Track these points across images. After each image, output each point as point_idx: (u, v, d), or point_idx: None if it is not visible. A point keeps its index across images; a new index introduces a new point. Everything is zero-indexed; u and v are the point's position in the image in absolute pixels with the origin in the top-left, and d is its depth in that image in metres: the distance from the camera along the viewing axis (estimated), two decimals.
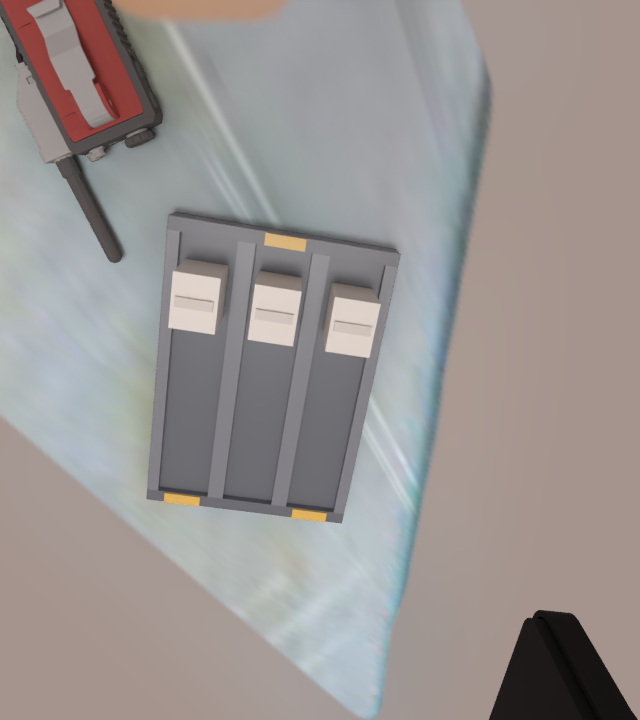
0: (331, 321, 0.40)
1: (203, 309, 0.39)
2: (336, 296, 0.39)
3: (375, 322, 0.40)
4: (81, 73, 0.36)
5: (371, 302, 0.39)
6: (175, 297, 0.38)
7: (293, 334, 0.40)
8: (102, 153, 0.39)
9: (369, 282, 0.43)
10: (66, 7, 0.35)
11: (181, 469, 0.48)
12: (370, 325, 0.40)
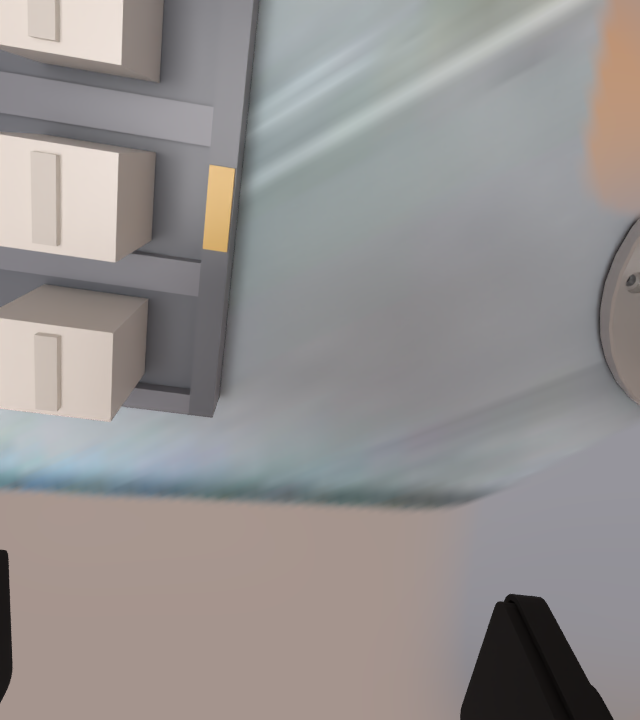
0: (57, 327, 0.18)
1: (32, 11, 0.15)
2: (114, 334, 0.19)
3: (70, 414, 0.19)
4: None
5: (111, 403, 0.19)
6: None
7: (10, 244, 0.17)
8: None
9: (156, 365, 0.24)
10: None
11: None
12: (61, 405, 0.19)
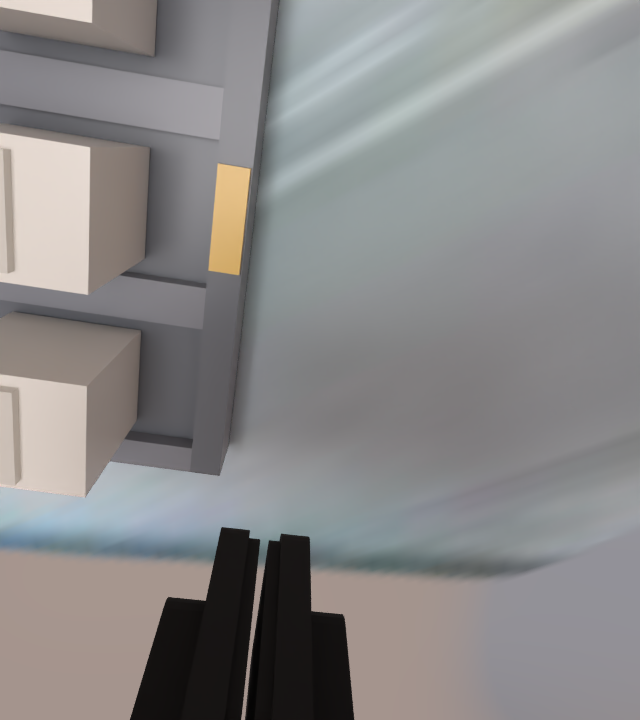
0: (13, 378, 0.14)
1: None
2: (89, 386, 0.14)
3: (33, 487, 0.15)
4: None
5: (86, 473, 0.15)
6: None
7: None
8: None
9: (150, 411, 0.19)
10: None
11: None
12: (22, 476, 0.15)
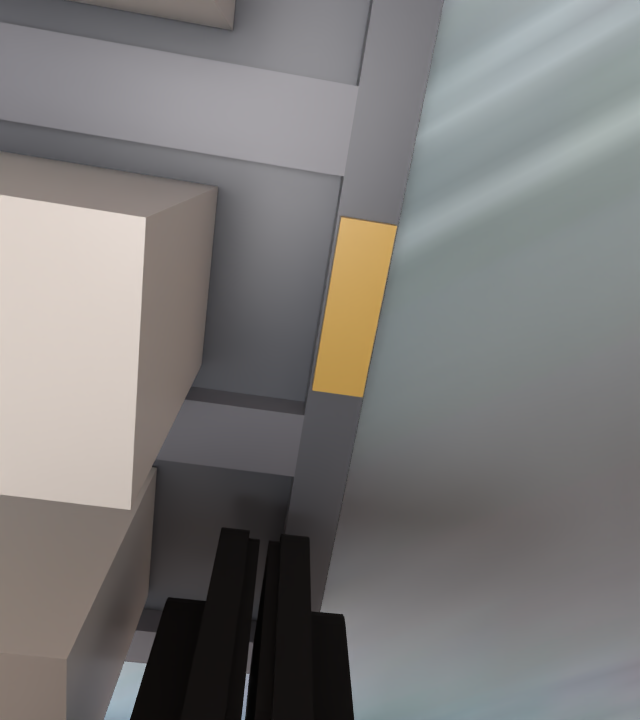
0: None
1: None
2: (73, 650, 0.07)
3: None
4: None
5: None
6: None
7: None
8: None
9: (201, 584, 0.12)
10: None
11: None
12: None
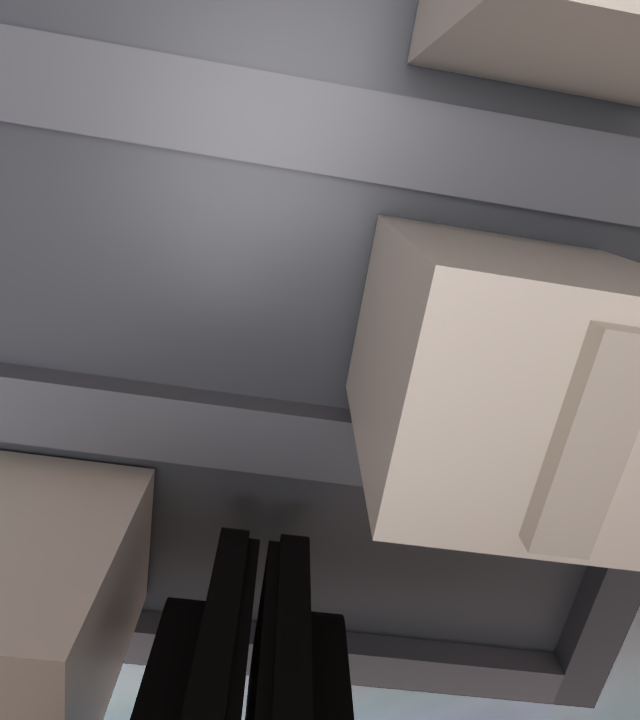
0: None
1: None
2: (71, 653, 0.07)
3: None
4: None
5: None
6: None
7: (449, 543, 0.07)
8: None
9: (498, 618, 0.13)
10: None
11: None
12: None
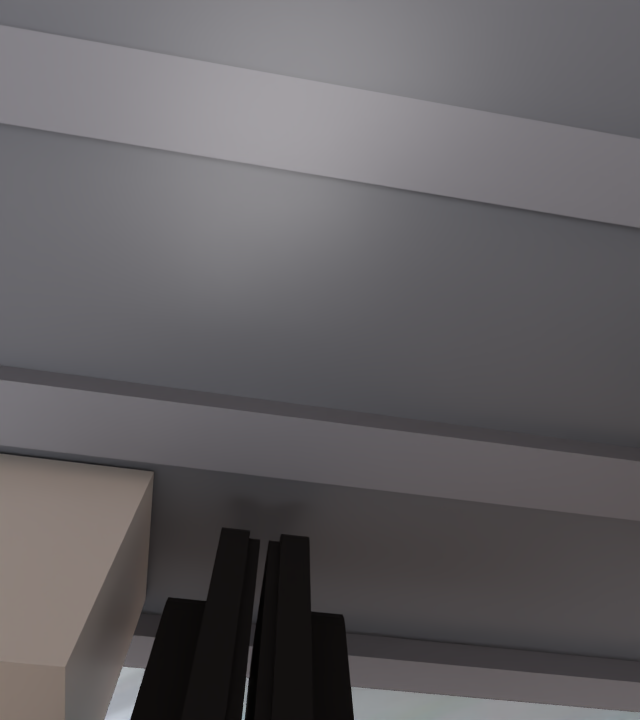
0: None
1: None
2: (71, 658, 0.07)
3: None
4: None
5: None
6: None
7: None
8: None
9: None
10: None
11: None
12: None
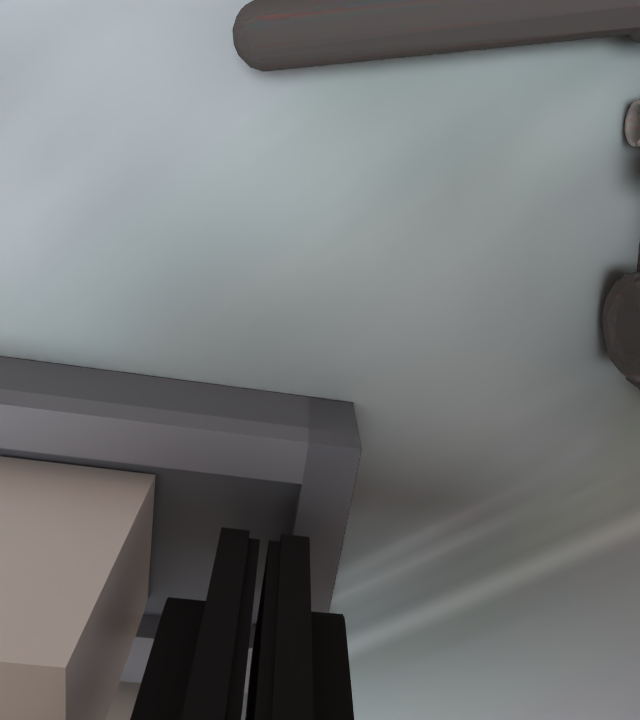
0: None
1: None
2: None
3: None
4: None
5: None
6: None
7: None
8: None
9: None
10: None
11: None
12: None
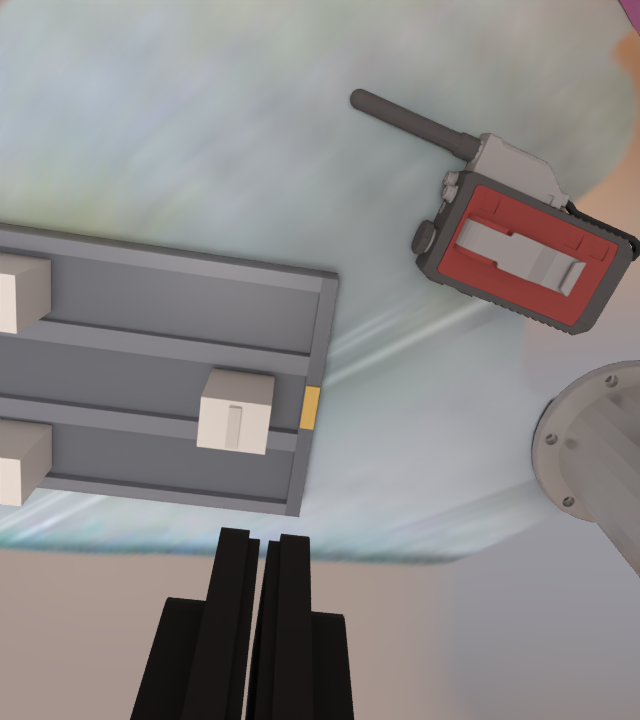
0: None
1: None
2: (21, 459, 0.33)
3: None
4: (509, 259, 0.32)
5: (22, 495, 0.34)
6: None
7: (211, 447, 0.33)
8: (445, 196, 0.33)
9: (265, 486, 0.40)
10: (554, 290, 0.34)
11: None
12: None
